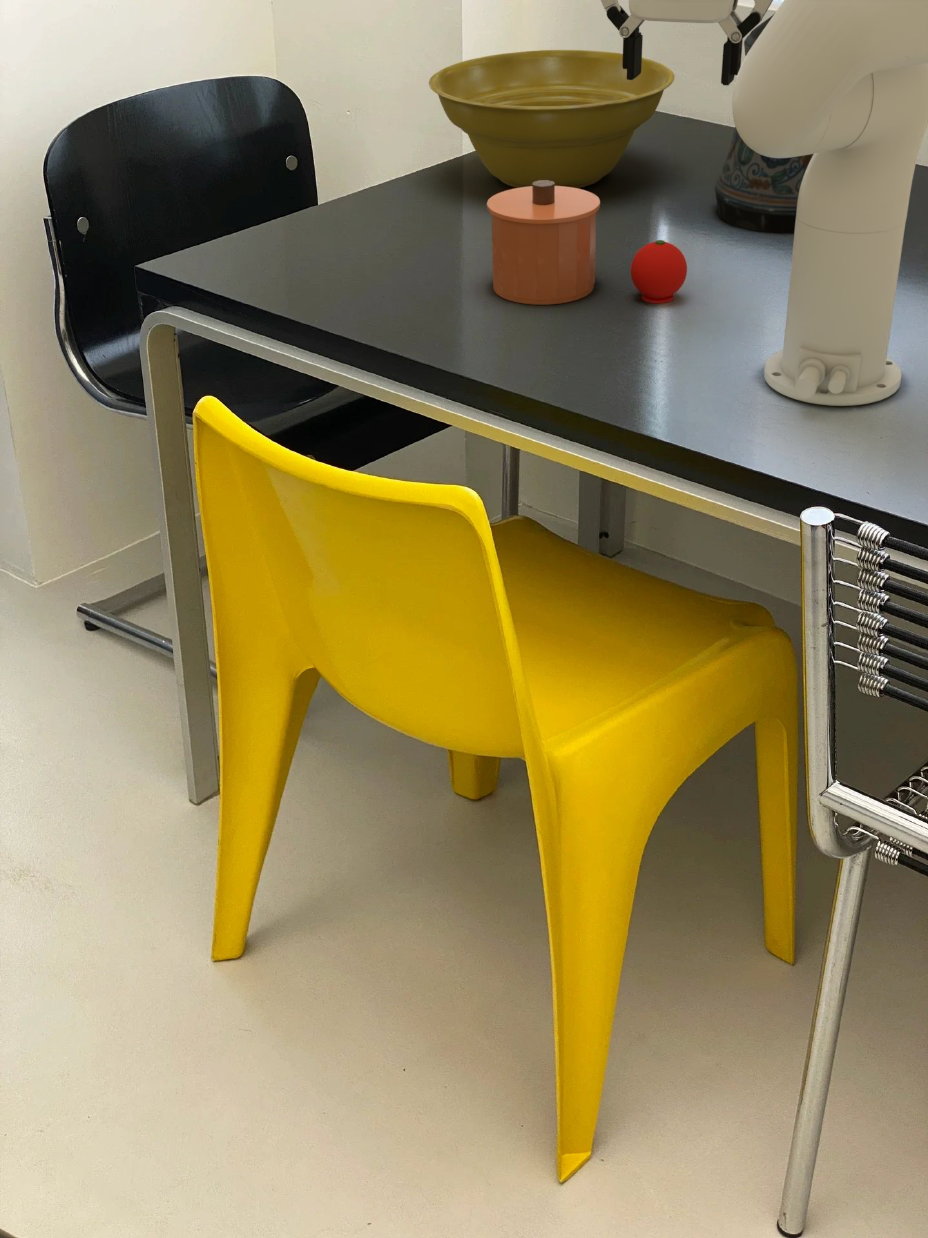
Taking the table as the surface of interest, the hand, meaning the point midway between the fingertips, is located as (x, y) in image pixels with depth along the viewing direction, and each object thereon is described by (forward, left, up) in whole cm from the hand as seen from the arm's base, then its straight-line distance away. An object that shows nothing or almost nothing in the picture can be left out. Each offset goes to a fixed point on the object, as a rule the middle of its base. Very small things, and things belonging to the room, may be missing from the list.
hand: (680, 79), depth 143 cm
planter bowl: (+39, +26, -23) cm, 52 cm away
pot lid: (-2, +14, -13) cm, 19 cm away
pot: (-2, +14, -22) cm, 26 cm away
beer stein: (+31, -8, -23) cm, 40 cm away
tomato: (-2, +1, -22) cm, 22 cm away
